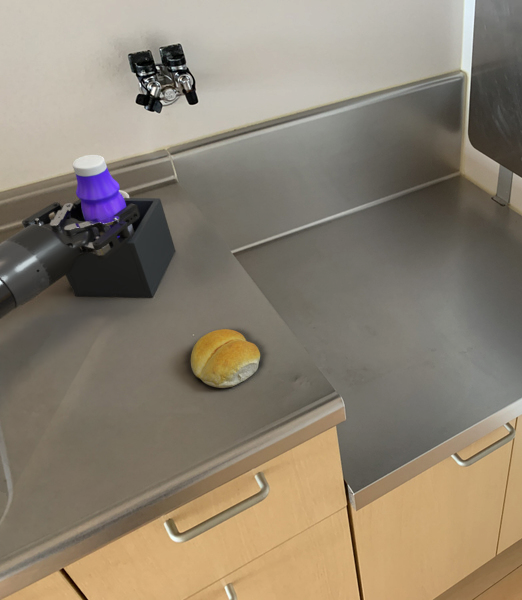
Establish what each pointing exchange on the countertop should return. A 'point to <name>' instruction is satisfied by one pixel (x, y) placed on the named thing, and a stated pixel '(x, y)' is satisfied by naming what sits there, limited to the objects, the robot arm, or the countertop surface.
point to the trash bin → (128, 258)
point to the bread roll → (224, 358)
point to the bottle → (98, 191)
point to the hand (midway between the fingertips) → (116, 203)
